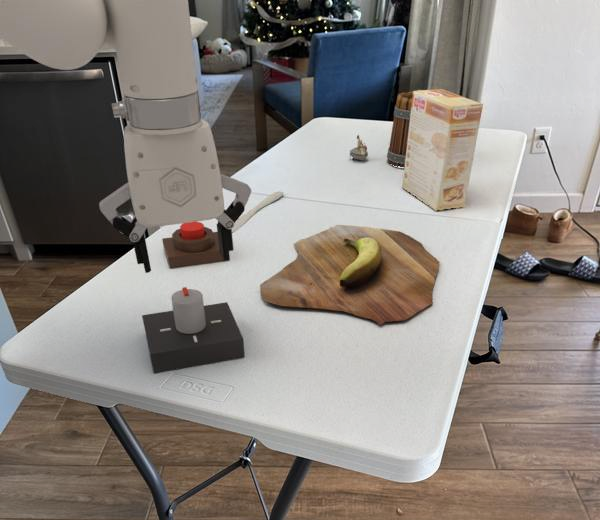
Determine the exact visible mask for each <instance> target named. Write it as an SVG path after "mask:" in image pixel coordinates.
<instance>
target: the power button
mask: <svg viewBox="0 0 600 520" xmlns="http://www.w3.org/2000/svg"><path fill="white" fill-rule="evenodd" d="M204 227H205V225H204V223H203V222H201V221H197V222H190V223H182V224H180V226H179V229H180V230H181V237H182V238H183V239H189V240H193V239H199V238H202V237H204V236H205V231H204Z"/></svg>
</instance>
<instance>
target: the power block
mask: <svg viewBox="0 0 600 520" xmlns="http://www.w3.org/2000/svg"><path fill="white" fill-rule="evenodd" d="M204 231H205V236H204V237H202V238H199V239H193V240H189V239H183V238H182V237H181V230H180V228H178V229H176V230H175V231H174V232H173V233H172V234H171V237H163V238H162V239H161V241H162V247H163V251H164V254H165V257H166V261H167V264H168V268H169V269H170V270H172V269H180V268H186V267H194V266H201V265H209V264H216V263H223V262H226V261H225V260H223V258H222V255H221V253H220V251H219V242H218V233H217V231H213V230H212V229H211V228H209V227H207V226H204Z"/></svg>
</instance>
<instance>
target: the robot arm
mask: <svg viewBox="0 0 600 520" xmlns="http://www.w3.org/2000/svg"><path fill="white" fill-rule="evenodd" d="M0 39H1V40H3V41H4V42H6V43H7V44H8V45H10V46H12V47H13V48H14V49H16V50H18V51H19V52H20V53H22V54H24V55H25V56H27V57H28V58H30V59H31V60H33V61H36V62H37V63H39V64H41V65H43V66H46V67H48V68H52V69H56V70H61V71H72V70H77V69H79V68H82V67H83V66H86V65H87V64H88V63H90V62H91V61H92V60H93V59H94V58H95V56H96V55H97V54H98V53H100V52H103V51H108V50H114V51H115V53H116V58H117V63H118V69H119V74H120V79H121V85H122V92H123V96H124V97H122V98H121V100H120V101H118V102H113V103H111V108H112V113H113V118H115V119H117V118H121V119H125V121H126V122H129V124H127V125H126V126H125V127H124V130H123V147H124V148H123V149H124V157H125V158H124V159H125V169H126V177H127V182H126V183H125V184H123V185H122V186H121V187H119V188H118V189H116V190H115V191H113V192H112V193H111V194H109V195H107V196H106V197H105V198H103V199H102V200H100V201H99V204H98V205H99V210H100V212H101V213H102V214H103V216H104V217H105V218H106V219H107V220H108V222H110V224H111V225H112V227H113V228H114V229H115V230H116V231H118V232H120V233H121V234H123V235H124V236H126V237H127V238H129V240H130V242H132V245H133V247H134V248H133V249H134V254H135V258H136V263H137V265H142V264H143V269H144V272H145V273H146V274H149V273H150V272H152V268H151V263H150V259H149V258H150V257H149V252H148V246H147V242H146V237H145V232H146V230H147V229H148V228H154V227H155V228H157V227H166V226H174V225H182V224H183V223H190V222H204V221H209V220H214V219H215V220H216V221H217V223H216V232H217V233H218V242H219V251H220V253H221V255H222V258H223V260H225V261H224V262H229V261H231V257H230V256H231V255H230V252H233V251H234V240H233V232H232V228H233V227H234V223H235V222H236V221H237V219H238V218H240V217H241V216H242V215H243V214H244V212H245V207H246V205H247V203H248V201H249V199H250V197H251V194H252V188H251V187H250V185H249V184H247V183H245V182H243V181H241V180H238V179H235V178H233V177H231V176H228V175H225V174H223V173H221V171H220V164H219V158H218V154H217V153H218V152H217V148H216V144H215V140H214V136H213V135H214V134H213V132H212V128H211V126H210V125H211V124H210V123H209V122H208V121H207V120H205V119H203V118H202V115H201V105H200V96H199V88H198V87H199V86H198V79H197V78H198V77H197V69H196V61H195V52H194V43H193V34H192V25H191V15H190V6H189V0H0ZM223 189H224V190H227V191H229V192H232V193H234V194H235V196H234V200H233V201H232V202H231V203H230V204H229V206H228V207H227V208H226V209H225V199H224V190H223ZM129 200H131V205H132V209H133V214H134V216H132V218H131V221H130V220H128V219H127V218H126V217H124V216H122V215H121V214H120V213H119V212H118V210H117V209H118V208H119V207H120V206H122V205H123V204H125V203H126V202H128V201H129Z"/></svg>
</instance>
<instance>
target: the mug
mask: <svg viewBox="0 0 600 520" xmlns="http://www.w3.org/2000/svg"><path fill="white" fill-rule="evenodd" d="M421 90H422V89H417V90H416V91H421ZM412 96H413V91H407V92H401V93H399V94H397V97H396V101H395V102H396V103H395V105H394V109H393V110H394V111H393V121H392V127H391V134H390V139H389V146H388V149H387V154H386V161H387V163H388V164H389V165H390V164H392V165H394V166H397V167H398V166H400V167H405V159H406V150H407V141H408V132H409V123H410V114H411V105H412Z"/></svg>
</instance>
